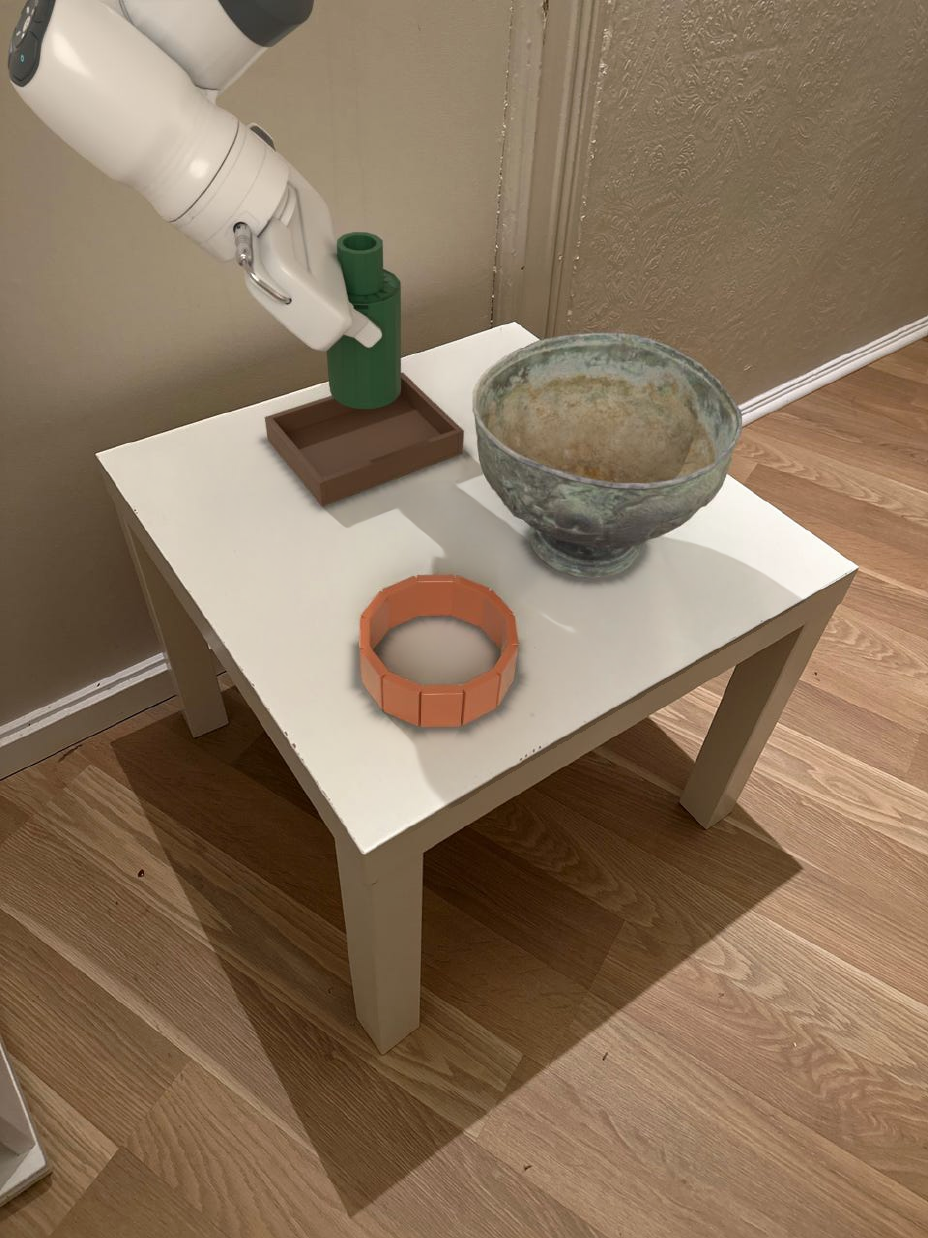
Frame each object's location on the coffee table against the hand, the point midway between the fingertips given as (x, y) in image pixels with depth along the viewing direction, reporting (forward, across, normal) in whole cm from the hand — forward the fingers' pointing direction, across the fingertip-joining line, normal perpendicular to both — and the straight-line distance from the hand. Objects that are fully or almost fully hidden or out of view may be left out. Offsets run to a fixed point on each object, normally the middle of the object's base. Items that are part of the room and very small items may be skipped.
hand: (369, 312), depth 75 cm
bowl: (+22, -15, -1) cm, 27 cm away
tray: (+10, 0, +11) cm, 14 cm away
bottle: (+5, 0, +6) cm, 7 cm away
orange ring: (+11, -27, +9) cm, 31 cm away
